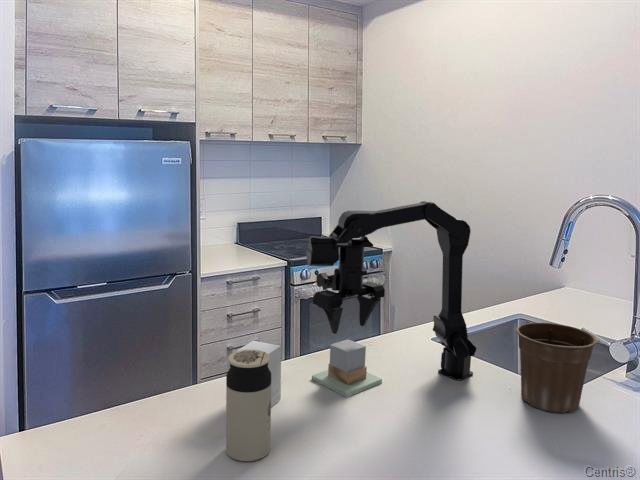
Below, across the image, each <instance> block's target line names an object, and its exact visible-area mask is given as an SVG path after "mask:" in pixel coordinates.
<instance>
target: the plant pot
mask: <svg viewBox="0 0 640 480" xmlns="http://www.w3.org/2000/svg"><path fill="white" fill-rule="evenodd" d="M516 333H517V335H518V348H519V349H520V353H519V354H520V356H519V357H520V388H521V389H520V393H521V394H520V396H521V399H522V400H523V401H524V402H527V403H528V404H529V406H530V407H533V408H536V409H538V410H540V411H543V412H549V413H556V414H564V413H566V412H570V413H574V412H576V411H577V410H578V409H579V407H580V404H581V398H582V394H583V393H582V392H583V388H584V383H585V379H586V374H587V369H588V365H589V361H590V360H591V358H592V354H593V350H594V346H595V345H596V344H597V342H598V341H597V338H596V337H595V336H594V335H593V334H592V333H590V332H588V331H586V330H583V329H581V328H577V327H574V326H569V325H565V324H559V323H555V322H554V323H553V322H527V323H523V324H520V325H518V326H517V327H516Z"/></svg>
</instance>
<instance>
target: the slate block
mask: <svg viewBox="0 0 640 480" xmlns="http://www.w3.org/2000/svg"><path fill="white" fill-rule="evenodd" d="M329 347H330V348H329V349H330V350H329V363H330V365H332V366H334V367H336V368H339V369H341V370H343V371H345V372H350V371H353V370H356V369H358V368H361V367H364V366H366V354H367V353H366V352H367V350H366V349H367V348H366V347H367V346H365V345H364V344H361V343H358V342H356V341H353V340H351V339H344V340H342V341H341V340H340V341H337V342H335V343H331V344H330V345H329Z"/></svg>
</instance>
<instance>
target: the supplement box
mask: <svg viewBox="0 0 640 480" xmlns="http://www.w3.org/2000/svg"><path fill="white" fill-rule="evenodd" d="M240 350H260V351H263V352H266V353H267V354H269V356H270V361H269V362H268V368H269V370H270V372H271V408H272V407H274V406H275V405H277V403H278V402H279V401H280V400H282V399H281V398H282V397H281V396H282V390H281V389H282V385H281V384H282V345H279V344H272V343H268V342H263V341H257V340H252V341H250V342H249V343H247V344H246V345H244V346H242V347H240V348H239V349H237V350H235V352H237V351H240Z"/></svg>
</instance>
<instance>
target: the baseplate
mask: <svg viewBox="0 0 640 480" xmlns="http://www.w3.org/2000/svg"><path fill="white" fill-rule="evenodd" d="M311 380H313V381H314V382H317V383H318V384H320V385H322V386H324V387H326V388H328V389H330V390H332V391H334V392H336V393H338V394H340V395H341V396H344V397H345V398H348V397H350V396H353V395H355V394H357V393H360V392H362V391H364V390H368V389H370V388H372V387H376V386H377V385H381V384H382V383H383V378H382V377H378V376H376V375H374V374H373V373H370V372H367V371H366V379H364V380H361V381H359V382H356V383H353V384H351V385H347V384H345V383H342V382H340V381H338V380H336V379H334V378H332V377H330V376H328V369H326V370H322V371H320V372H317V373H315V374H311Z"/></svg>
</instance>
